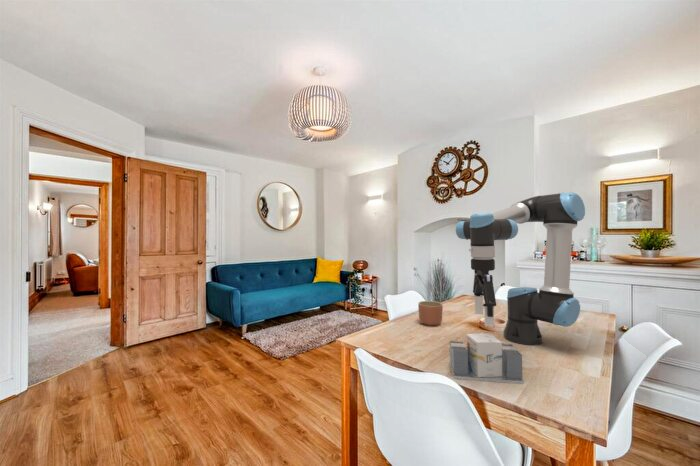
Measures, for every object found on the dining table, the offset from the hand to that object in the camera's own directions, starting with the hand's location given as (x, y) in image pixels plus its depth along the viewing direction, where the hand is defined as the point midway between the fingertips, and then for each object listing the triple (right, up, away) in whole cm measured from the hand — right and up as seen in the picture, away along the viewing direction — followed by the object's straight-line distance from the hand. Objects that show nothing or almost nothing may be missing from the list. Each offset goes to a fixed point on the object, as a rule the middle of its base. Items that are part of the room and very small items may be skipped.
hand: (483, 319), depth 101 cm
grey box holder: (0, -18, 0) cm, 18 cm away
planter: (-3, -19, +54) cm, 58 cm away
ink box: (0, -18, 0) cm, 18 cm away
